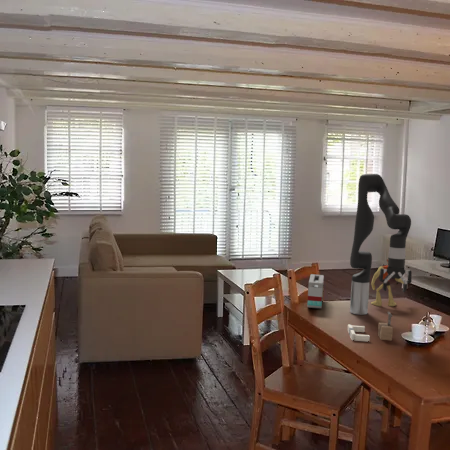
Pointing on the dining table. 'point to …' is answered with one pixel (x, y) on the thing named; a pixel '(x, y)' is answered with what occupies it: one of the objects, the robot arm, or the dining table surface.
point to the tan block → (385, 329)
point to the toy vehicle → (315, 291)
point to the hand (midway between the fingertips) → (394, 291)
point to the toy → (378, 297)
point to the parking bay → (356, 336)
